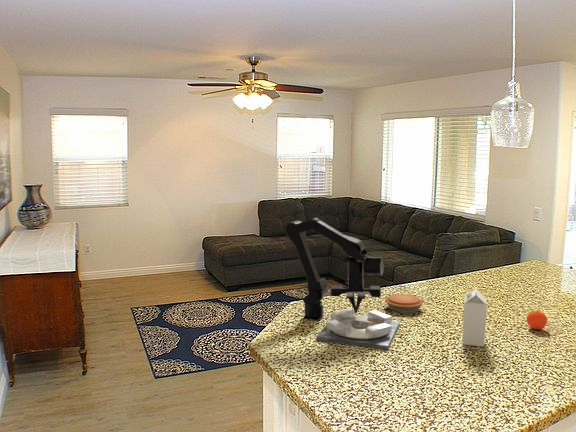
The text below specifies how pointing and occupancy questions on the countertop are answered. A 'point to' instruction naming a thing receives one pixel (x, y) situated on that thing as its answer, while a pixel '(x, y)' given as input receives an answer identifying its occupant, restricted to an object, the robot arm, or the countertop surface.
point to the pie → (404, 303)
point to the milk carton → (474, 319)
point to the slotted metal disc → (360, 324)
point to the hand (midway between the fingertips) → (356, 312)
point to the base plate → (371, 343)
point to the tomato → (536, 319)
